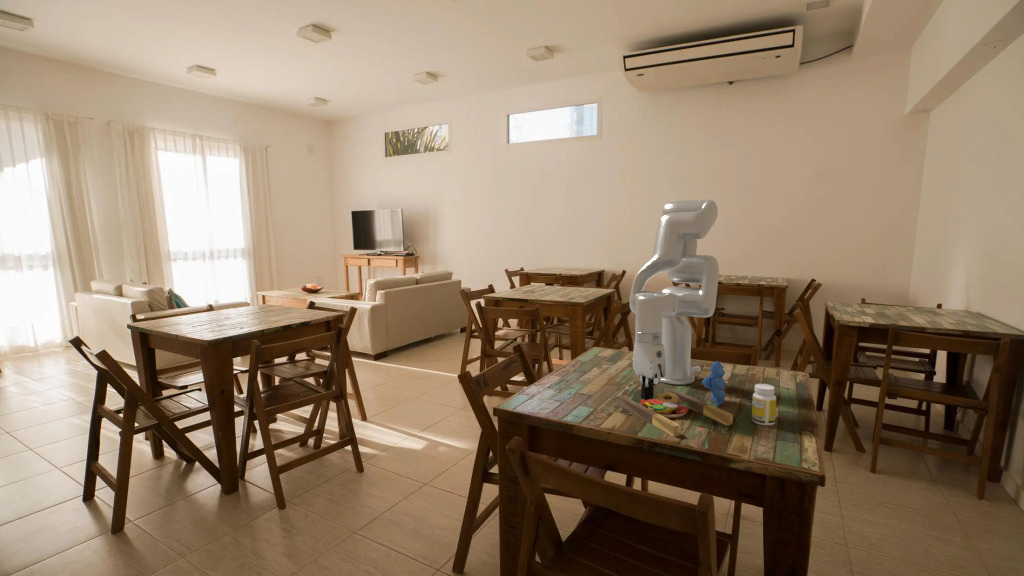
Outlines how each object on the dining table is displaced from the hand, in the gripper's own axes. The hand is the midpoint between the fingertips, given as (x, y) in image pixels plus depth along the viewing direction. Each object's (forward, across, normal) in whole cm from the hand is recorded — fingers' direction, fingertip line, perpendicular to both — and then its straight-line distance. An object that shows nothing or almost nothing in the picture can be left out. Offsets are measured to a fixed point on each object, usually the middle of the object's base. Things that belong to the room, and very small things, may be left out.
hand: (647, 398), depth 139 cm
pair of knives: (+1, -10, 0) cm, 10 cm away
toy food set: (+2, -8, 0) cm, 8 cm away
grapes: (+1, -8, -17) cm, 19 cm away
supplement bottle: (+1, -24, -18) cm, 30 cm away
